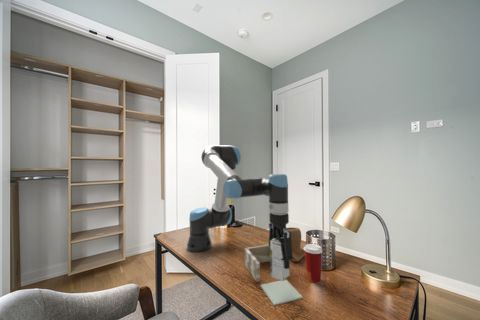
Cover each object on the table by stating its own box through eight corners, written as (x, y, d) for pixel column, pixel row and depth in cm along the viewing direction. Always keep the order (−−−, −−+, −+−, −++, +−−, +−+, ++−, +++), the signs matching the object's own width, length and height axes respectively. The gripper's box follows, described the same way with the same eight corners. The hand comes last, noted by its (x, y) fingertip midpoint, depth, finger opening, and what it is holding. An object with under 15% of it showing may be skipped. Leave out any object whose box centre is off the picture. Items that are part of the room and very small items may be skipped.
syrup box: (277, 270, 82) (276, 235, 83) (290, 275, 78) (289, 238, 79) (270, 276, 78) (269, 239, 78) (283, 282, 74) (282, 243, 75)
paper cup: (325, 278, 87) (324, 246, 87) (319, 286, 81) (318, 252, 81) (308, 272, 92) (307, 242, 92) (301, 279, 86) (300, 247, 86)
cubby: (244, 264, 100) (244, 248, 101) (270, 259, 105) (270, 244, 105) (256, 282, 85) (256, 263, 85) (287, 275, 89) (286, 257, 89)
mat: (260, 286, 82) (260, 284, 82) (285, 280, 86) (285, 279, 86) (274, 305, 70) (273, 304, 70) (302, 298, 74) (302, 296, 74)
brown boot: (289, 248, 118) (288, 223, 119) (309, 254, 111) (308, 227, 111) (277, 258, 106) (276, 230, 107) (298, 264, 99) (297, 234, 99)
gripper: (260, 208, 87) (261, 260, 87) (283, 220, 68) (285, 287, 67) (275, 207, 90) (276, 257, 89) (302, 218, 70) (303, 283, 70)
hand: (280, 270), depth 78 cm, fingers closed on syrup box, 7 cm apart
